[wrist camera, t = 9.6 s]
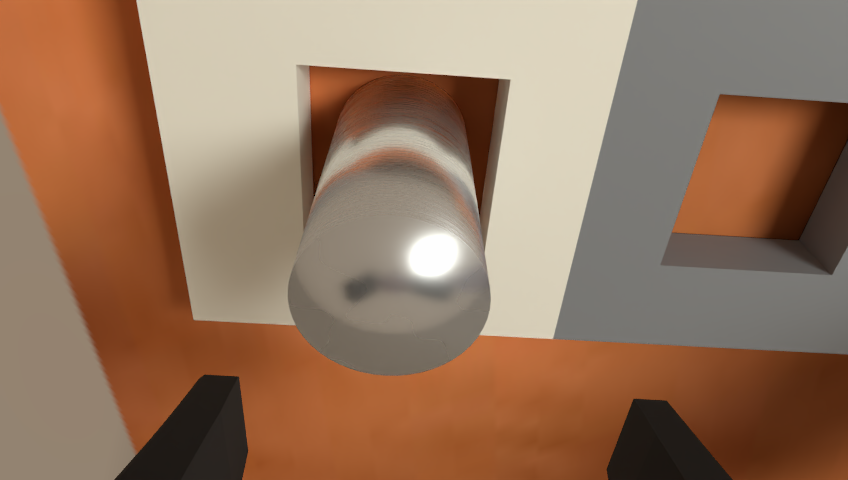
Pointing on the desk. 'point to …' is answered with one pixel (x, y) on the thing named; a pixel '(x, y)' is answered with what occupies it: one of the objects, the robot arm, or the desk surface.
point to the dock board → (517, 155)
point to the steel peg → (393, 236)
